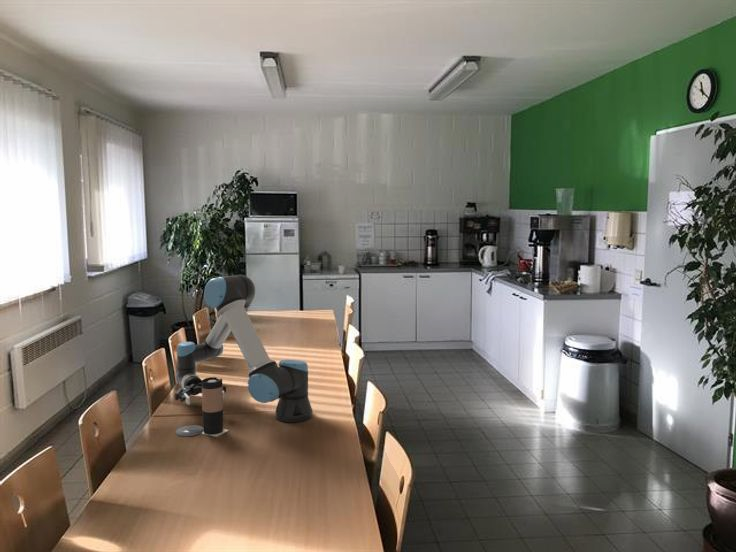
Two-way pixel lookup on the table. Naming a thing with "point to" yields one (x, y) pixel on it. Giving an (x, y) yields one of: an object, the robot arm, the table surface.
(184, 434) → the slate coaster
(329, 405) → the table surface
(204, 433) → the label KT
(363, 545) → the table surface
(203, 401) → the travel mug
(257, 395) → the robot arm
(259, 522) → the table surface
